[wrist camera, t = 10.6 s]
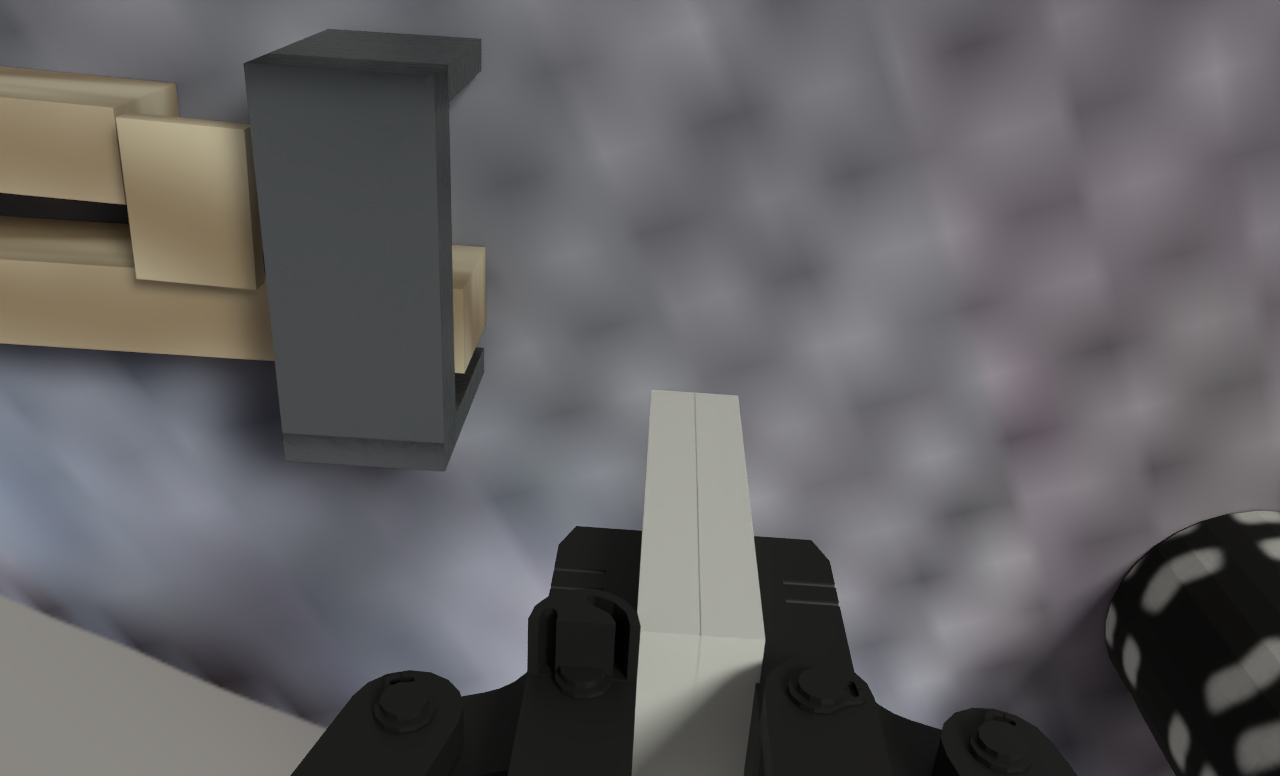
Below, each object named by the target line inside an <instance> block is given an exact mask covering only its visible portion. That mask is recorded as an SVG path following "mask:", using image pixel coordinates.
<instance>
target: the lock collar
mask: <svg viewBox="0 0 1280 776" xmlns="http://www.w3.org/2000/svg"><path fill="white" fill-rule="evenodd" d="M480 71H481V39H475V38H460V37H444V36H429V35H413V34H398V33H382V32H366V31H351V30H335V29H327V30H325V31H322V32H320V33H317V34H315V35H312V36H310V37H307V38H305V39H303V40H300V41H298V42H295V43H293V44H290V45H288V46H285V47H283V48H280V49H278V50H275V51H273V52H271V53H268V54H266V55H263V56H261V57H258V58H256V59H253V60H251V61H248V62H246V63H244V72H245V81H246V91H247V101H248V110H249V120H250V129H251V139H252V148H253V158H254V167H255V177H256V186H257V196H258V206H259V215H260V225H261V234H262V244H263V253H264V263H265V272H266V282H267V292H268V301H269V311H270V320H271V330H272V339H273V349H274V358H275V368H276V378H277V387H278V397H279V406H280V416H281V425H282V435H283V444H284V454H285V461H293V462H309V463H324V464H339V465H355V466H370V467H385V468H400V469H416V470H431V471H445V470H446V467H447V465H448V462H449V460H450V457H451V455H452V452H453V450H454V447H455V445H456V442H457V440H458V437H459V434H460V432H461V429H462V427H463V424H464V422H465V419H466V417H467V414H468V412H469V409H470V407H471V404H472V401H473V399H474V396H475V394H476V391H477V389H478V386H479V384H480V381H481V379H482V376H483V374H484V348H478V347H476V348H475V350H474V353H473V355H472V357H471V360H470V362H469V364H468V367H467V369H466V371H465V373H455V360H454V315H453V270H452V225H451V179H450V134H449V101H450V100H451V99H452V98H453V97H454V96H455V95H456V94H457V93H458V92H459V91H460V90H461V89H462V88H463V87H465V86H466V85H467V84H468V83H469V82H470V81H471V80H472V79H473V78H474V77H475V76H476V75H477V74H478V73H479V72H480Z"/></svg>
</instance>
